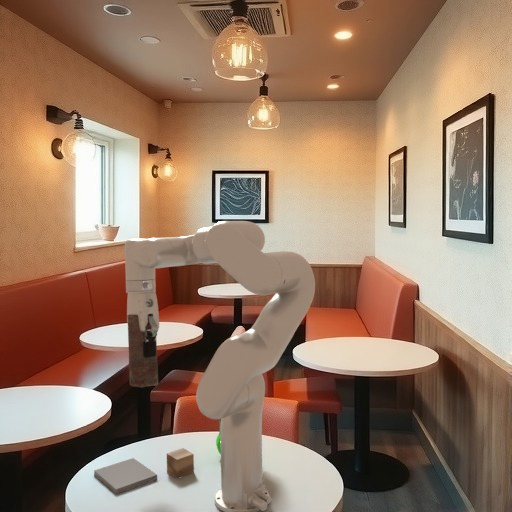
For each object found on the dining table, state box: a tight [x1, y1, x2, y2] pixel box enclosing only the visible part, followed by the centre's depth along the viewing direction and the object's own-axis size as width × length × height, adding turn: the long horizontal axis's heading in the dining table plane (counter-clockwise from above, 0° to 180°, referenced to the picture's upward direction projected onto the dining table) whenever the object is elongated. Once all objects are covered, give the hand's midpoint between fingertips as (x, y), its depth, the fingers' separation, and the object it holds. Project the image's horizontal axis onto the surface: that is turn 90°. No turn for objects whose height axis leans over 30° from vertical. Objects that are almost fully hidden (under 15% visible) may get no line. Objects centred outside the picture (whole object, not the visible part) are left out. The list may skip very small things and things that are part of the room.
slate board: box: [93, 457, 158, 495], centre depth 133 cm, size 13×11×1 cm
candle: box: [127, 314, 159, 388], centre depth 137 cm, size 8×7×20 cm
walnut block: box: [166, 447, 195, 480], centre depth 136 cm, size 5×5×5 cm
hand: (142, 353), depth 137 cm, fingers closed on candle, 7 cm apart
